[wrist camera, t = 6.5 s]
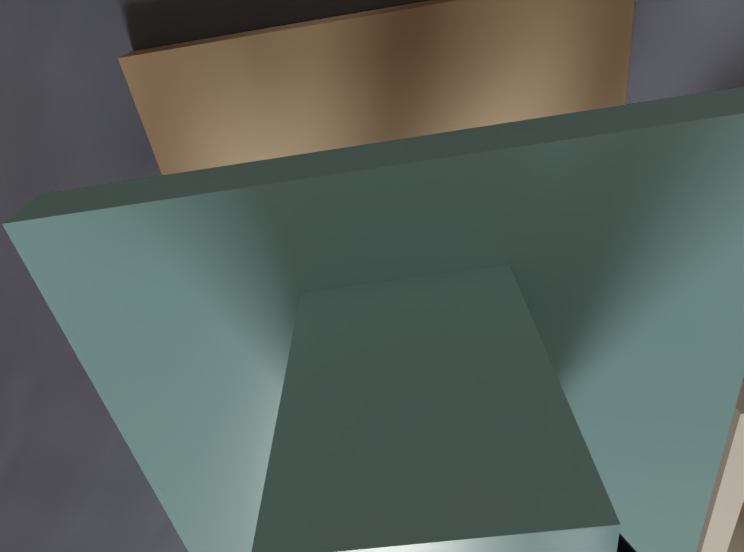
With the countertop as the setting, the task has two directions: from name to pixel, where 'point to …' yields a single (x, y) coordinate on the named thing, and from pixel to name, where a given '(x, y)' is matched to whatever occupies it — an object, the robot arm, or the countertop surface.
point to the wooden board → (378, 77)
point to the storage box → (727, 493)
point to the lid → (422, 333)
